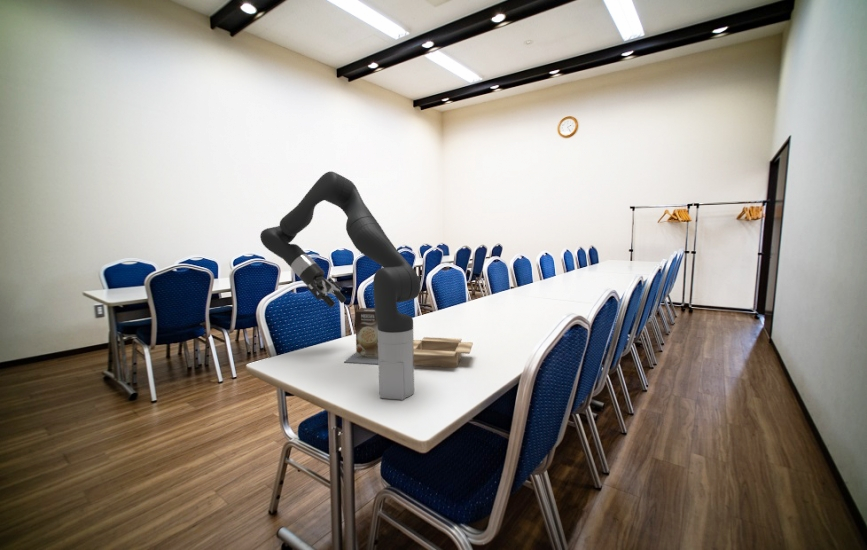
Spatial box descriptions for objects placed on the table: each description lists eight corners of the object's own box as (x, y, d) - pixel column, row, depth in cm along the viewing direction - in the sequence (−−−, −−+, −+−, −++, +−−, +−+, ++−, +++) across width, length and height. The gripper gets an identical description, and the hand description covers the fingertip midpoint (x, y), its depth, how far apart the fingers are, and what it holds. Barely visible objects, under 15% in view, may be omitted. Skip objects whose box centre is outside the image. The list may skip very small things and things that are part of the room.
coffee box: (355, 358, 125) (353, 311, 123) (361, 352, 131) (360, 307, 130) (381, 358, 124) (380, 311, 122) (386, 353, 130) (385, 308, 129)
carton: (468, 372, 111) (468, 356, 111) (397, 368, 116) (397, 352, 115) (473, 353, 130) (473, 339, 130) (412, 350, 134) (412, 336, 134)
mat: (384, 365, 119) (384, 364, 119) (344, 362, 121) (344, 361, 121) (398, 351, 133) (398, 350, 133) (361, 349, 136) (361, 348, 136)
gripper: (303, 264, 121) (336, 299, 120) (324, 261, 135) (354, 293, 134) (289, 279, 123) (322, 314, 122) (311, 275, 137) (341, 306, 136)
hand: (339, 303), depth 128 cm, fingers open, 8 cm apart
